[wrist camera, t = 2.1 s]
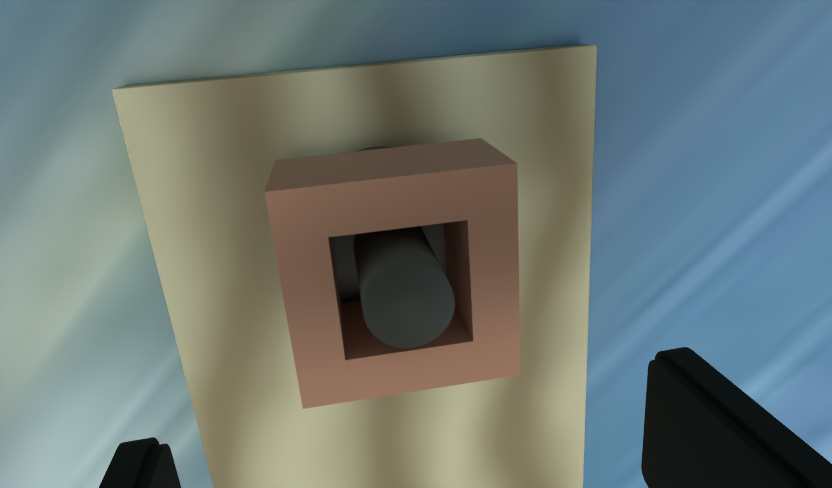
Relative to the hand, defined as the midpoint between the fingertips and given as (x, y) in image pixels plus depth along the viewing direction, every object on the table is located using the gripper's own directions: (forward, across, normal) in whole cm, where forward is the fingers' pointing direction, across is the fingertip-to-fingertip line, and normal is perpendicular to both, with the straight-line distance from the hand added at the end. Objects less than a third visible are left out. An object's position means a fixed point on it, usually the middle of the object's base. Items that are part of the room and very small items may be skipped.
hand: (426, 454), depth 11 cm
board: (+15, -1, +8) cm, 17 cm away
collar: (+11, -1, 0) cm, 11 cm away
